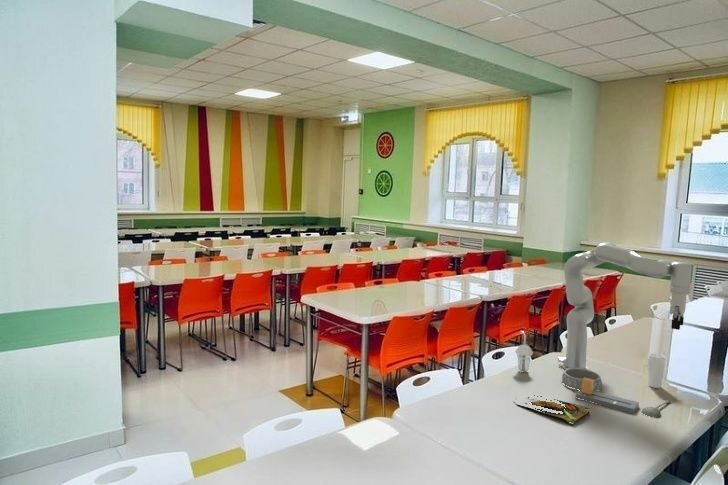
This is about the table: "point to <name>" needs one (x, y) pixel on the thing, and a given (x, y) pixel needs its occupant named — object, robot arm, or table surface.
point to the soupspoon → (654, 410)
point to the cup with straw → (524, 356)
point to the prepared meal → (569, 414)
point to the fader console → (610, 401)
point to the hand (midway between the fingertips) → (677, 326)
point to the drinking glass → (655, 370)
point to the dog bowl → (580, 378)
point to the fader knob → (587, 385)
